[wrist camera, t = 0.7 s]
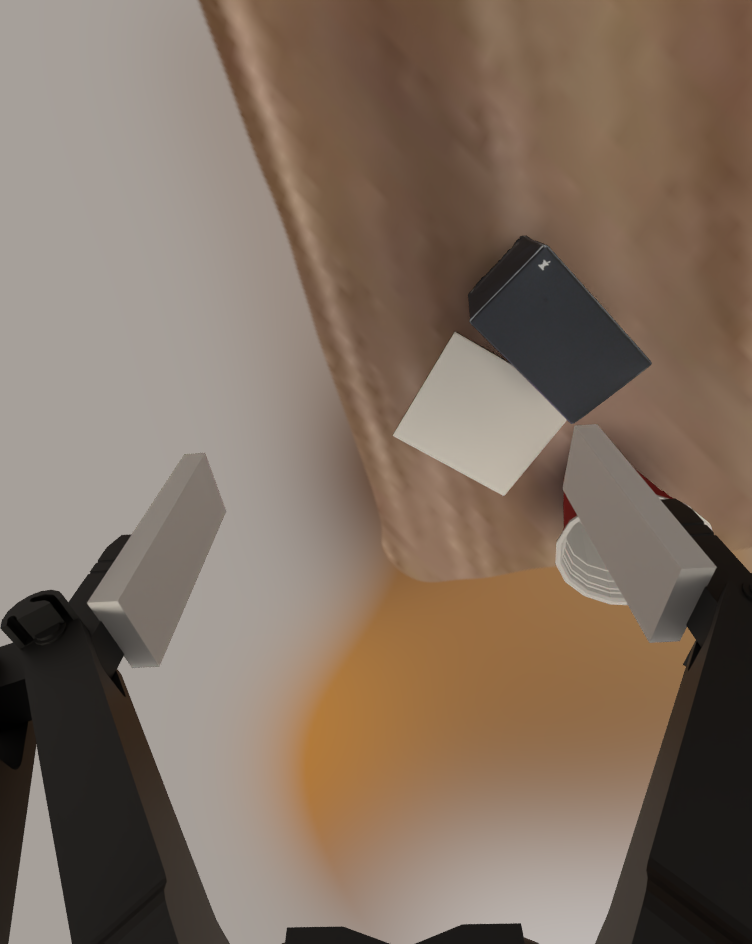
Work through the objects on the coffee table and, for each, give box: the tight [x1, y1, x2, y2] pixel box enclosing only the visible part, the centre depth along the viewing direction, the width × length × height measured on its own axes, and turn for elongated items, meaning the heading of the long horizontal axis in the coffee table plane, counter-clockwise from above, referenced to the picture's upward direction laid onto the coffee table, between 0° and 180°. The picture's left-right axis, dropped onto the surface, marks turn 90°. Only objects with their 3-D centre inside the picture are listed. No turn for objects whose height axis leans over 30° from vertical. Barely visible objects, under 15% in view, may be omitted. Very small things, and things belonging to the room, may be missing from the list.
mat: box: [393, 332, 567, 496], centre depth 42 cm, size 12×13×1 cm
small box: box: [468, 236, 652, 424], centre depth 33 cm, size 11×6×10 cm, turn 49°
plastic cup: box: [555, 468, 712, 605], centre depth 38 cm, size 11×11×12 cm
